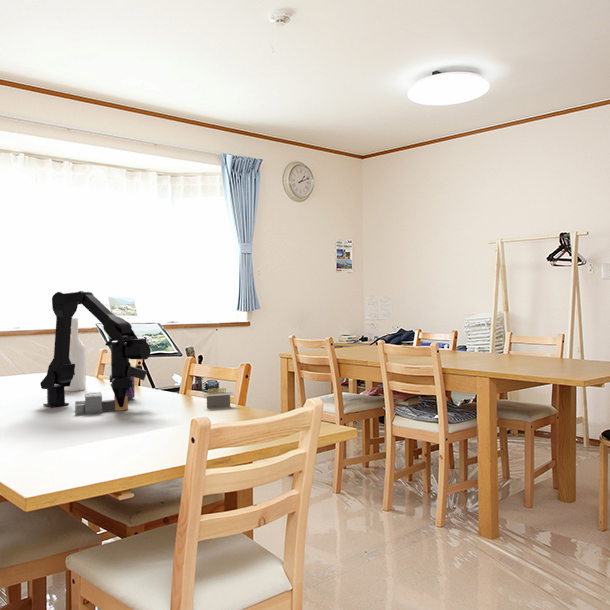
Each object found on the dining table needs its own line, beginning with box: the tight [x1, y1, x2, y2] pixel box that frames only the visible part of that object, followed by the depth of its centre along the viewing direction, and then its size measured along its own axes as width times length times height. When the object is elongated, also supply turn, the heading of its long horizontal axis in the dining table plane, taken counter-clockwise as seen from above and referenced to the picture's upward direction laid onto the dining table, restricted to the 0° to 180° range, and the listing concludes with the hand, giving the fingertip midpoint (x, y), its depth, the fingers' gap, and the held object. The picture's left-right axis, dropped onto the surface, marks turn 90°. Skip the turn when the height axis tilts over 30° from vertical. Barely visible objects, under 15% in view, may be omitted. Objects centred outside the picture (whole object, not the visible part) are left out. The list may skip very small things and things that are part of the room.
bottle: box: [65, 317, 87, 392], centre depth 243 cm, size 8×8×30 cm
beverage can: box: [125, 376, 136, 401], centre depth 215 cm, size 7×7×12 cm
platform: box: [203, 387, 234, 409], centre depth 195 cm, size 12×18×7 cm, turn 111°
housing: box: [74, 391, 103, 416], centre depth 190 cm, size 8×10×6 cm
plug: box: [82, 396, 129, 412], centre depth 192 cm, size 14×4×4 cm, turn 111°
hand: (120, 406), depth 194 cm, fingers closed on plug, 4 cm apart
